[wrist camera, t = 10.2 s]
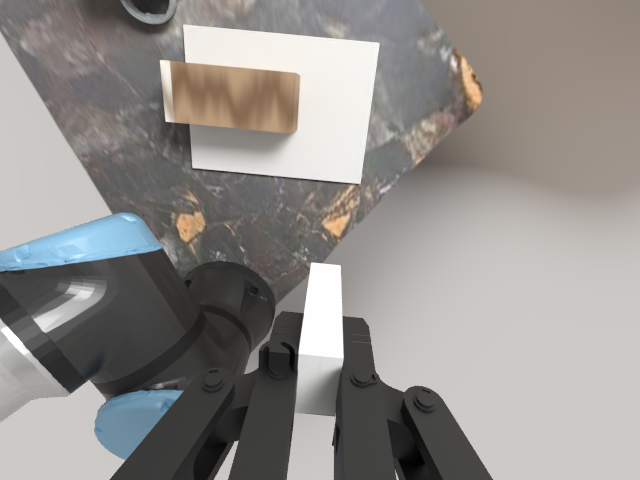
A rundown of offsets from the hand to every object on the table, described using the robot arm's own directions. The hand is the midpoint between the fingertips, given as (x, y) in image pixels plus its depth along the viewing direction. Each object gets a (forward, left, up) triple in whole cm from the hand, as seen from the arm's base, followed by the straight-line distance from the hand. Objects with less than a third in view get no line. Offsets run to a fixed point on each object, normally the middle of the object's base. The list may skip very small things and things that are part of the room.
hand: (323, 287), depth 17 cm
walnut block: (+8, +5, -26) cm, 27 cm away
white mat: (+7, +7, -28) cm, 30 cm away
